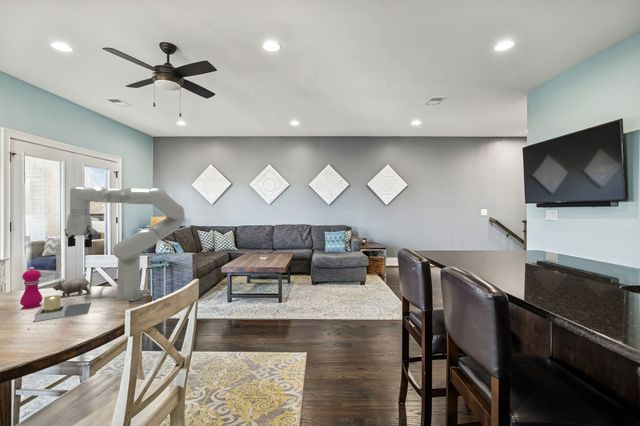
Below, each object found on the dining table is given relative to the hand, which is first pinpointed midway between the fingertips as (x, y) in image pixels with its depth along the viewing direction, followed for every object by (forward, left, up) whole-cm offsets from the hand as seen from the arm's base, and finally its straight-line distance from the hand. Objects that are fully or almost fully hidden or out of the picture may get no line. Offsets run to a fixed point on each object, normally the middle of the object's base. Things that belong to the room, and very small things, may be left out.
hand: (79, 246), depth 138 cm
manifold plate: (+4, +15, -28) cm, 32 cm away
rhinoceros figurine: (+6, -18, -29) cm, 34 cm away
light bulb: (+7, +19, -27) cm, 34 cm away
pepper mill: (+17, -1, -28) cm, 33 cm away
